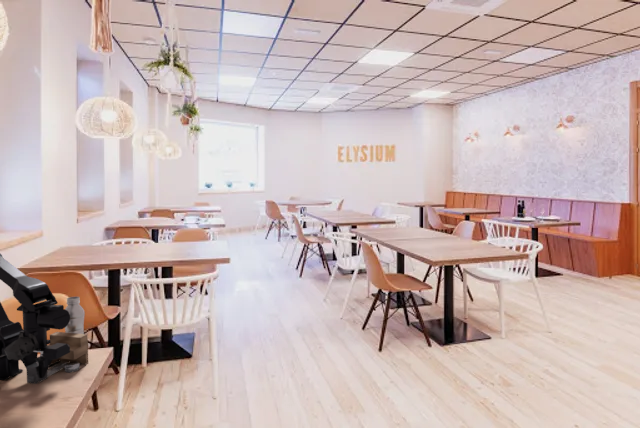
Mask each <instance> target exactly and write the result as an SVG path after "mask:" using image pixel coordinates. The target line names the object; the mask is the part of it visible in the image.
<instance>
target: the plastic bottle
mask: <svg viewBox="0 0 640 428" xmlns="http://www.w3.org/2000/svg"><path fill="white" fill-rule="evenodd" d="M80 298H81V297H80V296H70V297H68V298H66V304H67V306H66V307H64V308H65V310H67V311H68V312H69V314H70V321H69V323H68V325H67V326H66V327H65V328H64V331H65V333H77V334H85V332H84V331H85V330H84V329H85V328H84V325H85V324H84V323H85V317H86V316H85V315H86V314H85V313H86V312H85V309H84V308H83V307H82V306H81V304H80V303H81V301H80V300H81V299H80Z"/></svg>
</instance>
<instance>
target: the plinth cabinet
mask: <svg viewBox="0 0 640 428" xmlns="http://www.w3.org/2000/svg"><path fill="white" fill-rule="evenodd" d="M49 340H51V343H50V344H47V346H52V345H54V344H56V343H65V344H68V345H69V346H70V353H68V354H66V355H64V356H62V357H60V358H58V359H55V360H52V362H51V363H50V366H51V365H52V366H53V365H55V364H57V363H59V362H61V361H65V362H67V363H69V362H74V361H77V362H79V365H80V364H83V365H87V364H89V347H88V346H89V344H88V343H89V342H88V334H86V333H84V334H77V333H65V332H63V331H55V332H53V333H50V334H49Z"/></svg>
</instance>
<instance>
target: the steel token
mask: <svg viewBox="0 0 640 428" xmlns="http://www.w3.org/2000/svg"><path fill="white" fill-rule="evenodd" d="M79 370H80V363H79V362H77V361H74V362H67V363H66V364H65V368H64V372H65V373H68V374H69V373H75V372H78V371H79Z"/></svg>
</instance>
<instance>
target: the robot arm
mask: <svg viewBox="0 0 640 428" xmlns="http://www.w3.org/2000/svg"><path fill="white" fill-rule="evenodd" d="M0 281H2V282H3V283H4V284H5V285H7V286H8V287H9V288H10V289H11V290H12V296H13V297H14V298H15V299H16V300H17V302H18V303H19V304H20V305H19V306H18V307H17V308H16V311H17V312H18V311H19V312H22V324H21V322H19V321H16V322H13V321H11V320H10V318H9V317H8V315H7V312H6V311H5V308H4V306H3V305H2V303H1V301H0V381H1V380H2V381H4V380H7V379H10V378H12V377H14V376H16V375H17V374H21V373H22V372H23V371H24V370H23V369H22V368H20V363H19V361H21V363H23V365H24V367H25V368H26V366H28V365H30V364H32V363H34V362H36V361H37V362H38V363H39V374H40V378H43V377H44V376H45V374H46V372H47V370H48V368H50V367H51V365H50V363H51V362H52V360H55V359H58V358H60V357H62V356H64V355H66V354H68V353H70V346H69V345H68V344H65V343H56V344H54V345H52V346H47V345H49V344H50V343H51V340H50V339H48V331H50V330H51V329H53V330H63V329H65V327H66V326H67V325H68V323H69V321H70V314H69V312H68V311H67V310H65V309H64V308H65V307H64V305H63V304H59V303H58V301H57V298H56V296H55V295H54V294H53V293H52V291H51V289H50V287H49V285H48V284H47V283H46V282H44V281H42V280H41V279H38V278H35V277H30V276H28V275H26V274H25V273H24V272H23V271H20V269H18V268H17V267H16V266H14V265H13V264H12V263H10V262H9V261H8V260H6V258H5V257H3V254H1V253H0ZM38 353H40V355H39V356H38Z"/></svg>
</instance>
